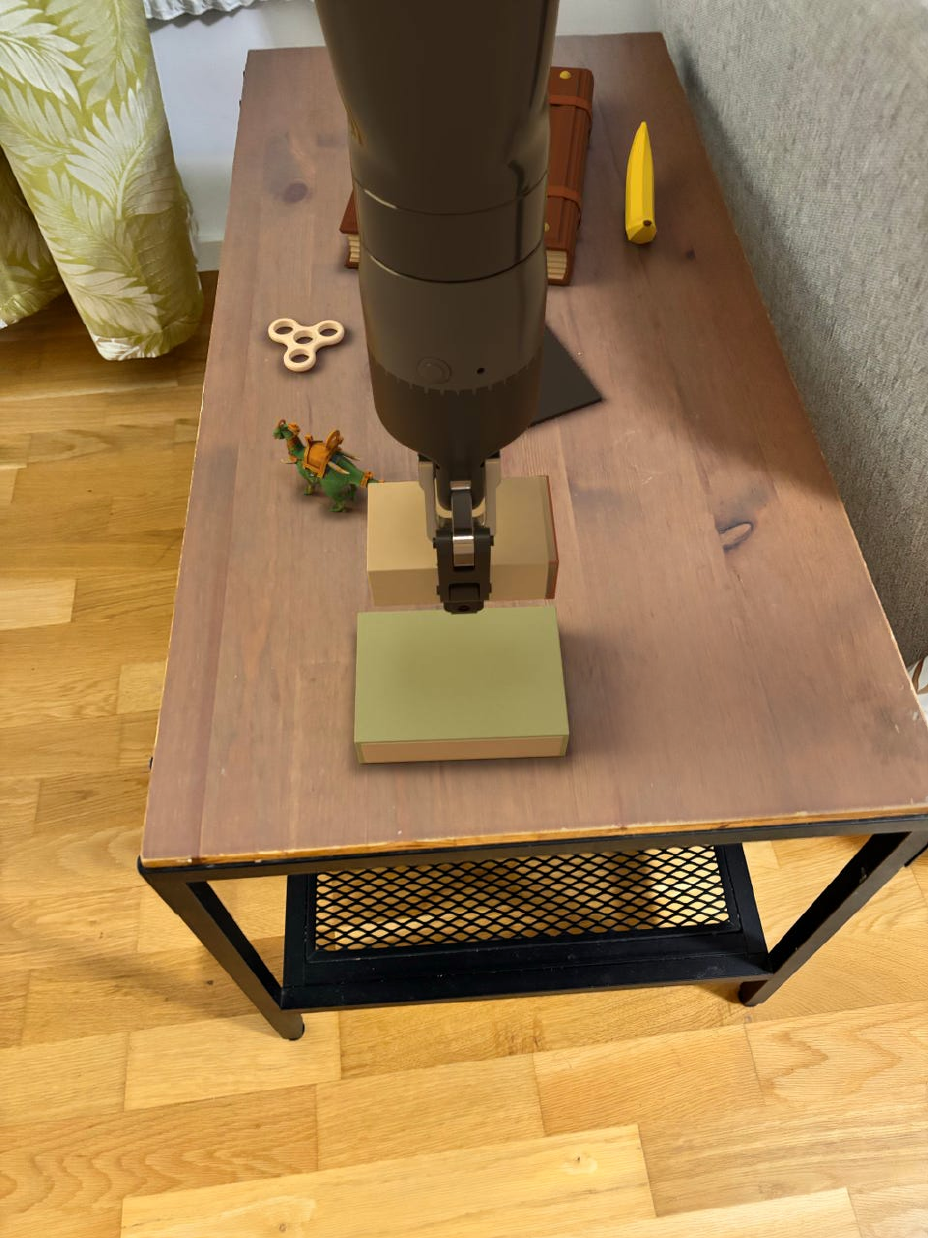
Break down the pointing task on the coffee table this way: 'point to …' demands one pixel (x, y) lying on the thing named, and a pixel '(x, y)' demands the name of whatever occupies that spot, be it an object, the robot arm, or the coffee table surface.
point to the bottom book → (459, 685)
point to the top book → (409, 559)
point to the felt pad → (561, 383)
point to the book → (565, 172)
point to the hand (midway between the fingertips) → (461, 557)
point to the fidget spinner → (304, 331)
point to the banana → (640, 190)
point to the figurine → (324, 463)
